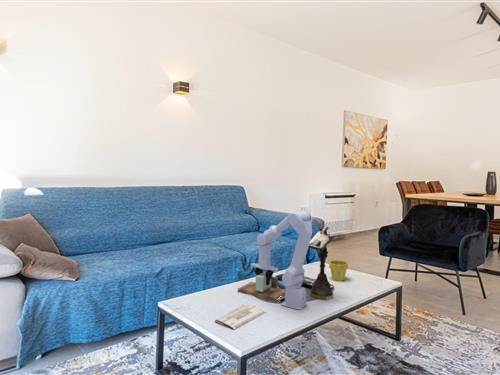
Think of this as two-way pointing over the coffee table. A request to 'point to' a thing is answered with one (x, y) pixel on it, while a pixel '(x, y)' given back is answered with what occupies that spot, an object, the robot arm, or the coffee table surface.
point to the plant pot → (338, 269)
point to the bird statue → (321, 266)
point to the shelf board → (269, 293)
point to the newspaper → (240, 316)
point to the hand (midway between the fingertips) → (263, 283)
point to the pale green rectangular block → (262, 282)
